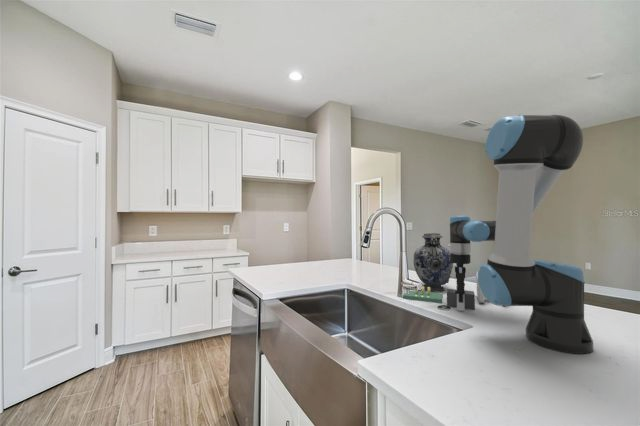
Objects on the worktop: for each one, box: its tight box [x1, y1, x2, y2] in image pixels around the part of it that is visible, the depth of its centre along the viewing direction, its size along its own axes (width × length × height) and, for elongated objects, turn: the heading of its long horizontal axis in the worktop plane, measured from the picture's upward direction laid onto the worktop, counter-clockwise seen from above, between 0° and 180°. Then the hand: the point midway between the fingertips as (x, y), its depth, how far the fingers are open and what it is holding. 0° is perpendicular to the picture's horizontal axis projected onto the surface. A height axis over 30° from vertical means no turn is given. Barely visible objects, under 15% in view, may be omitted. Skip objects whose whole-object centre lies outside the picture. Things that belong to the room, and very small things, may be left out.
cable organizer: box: [475, 271, 487, 304], centre depth 124 cm, size 15×11×12 cm
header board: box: [402, 285, 444, 304], centre depth 129 cm, size 10×16×5 cm, turn 65°
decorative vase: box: [413, 232, 454, 292], centre depth 145 cm, size 21×19×28 cm
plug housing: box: [446, 288, 476, 311], centre depth 117 cm, size 10×6×6 cm, turn 65°
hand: (460, 305), depth 117 cm, fingers open, 13 cm apart
